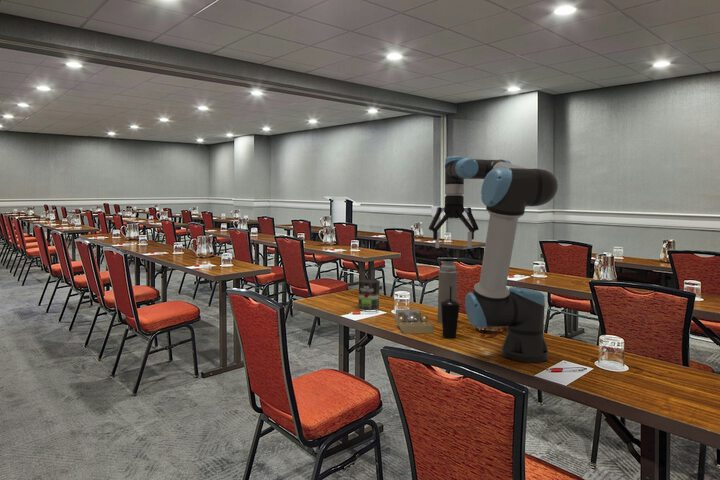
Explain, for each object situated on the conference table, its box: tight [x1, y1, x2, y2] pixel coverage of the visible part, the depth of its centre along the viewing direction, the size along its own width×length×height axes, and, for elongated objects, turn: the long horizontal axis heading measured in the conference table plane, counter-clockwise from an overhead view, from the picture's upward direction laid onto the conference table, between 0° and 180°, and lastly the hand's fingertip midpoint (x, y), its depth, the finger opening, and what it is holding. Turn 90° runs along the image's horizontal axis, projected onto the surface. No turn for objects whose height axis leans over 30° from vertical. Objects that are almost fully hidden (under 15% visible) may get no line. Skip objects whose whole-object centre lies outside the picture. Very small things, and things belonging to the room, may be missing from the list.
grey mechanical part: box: [395, 308, 422, 323], centre depth 213 cm, size 12×10×5 cm
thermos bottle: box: [437, 257, 458, 324], centre depth 216 cm, size 8×8×28 cm
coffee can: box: [357, 278, 381, 310], centre depth 239 cm, size 10×10×14 cm
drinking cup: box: [440, 286, 461, 340], centre depth 191 cm, size 8×8×20 cm
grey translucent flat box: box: [396, 315, 435, 335], centre depth 203 cm, size 13×12×4 cm
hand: (453, 247), depth 200 cm, fingers open, 13 cm apart
